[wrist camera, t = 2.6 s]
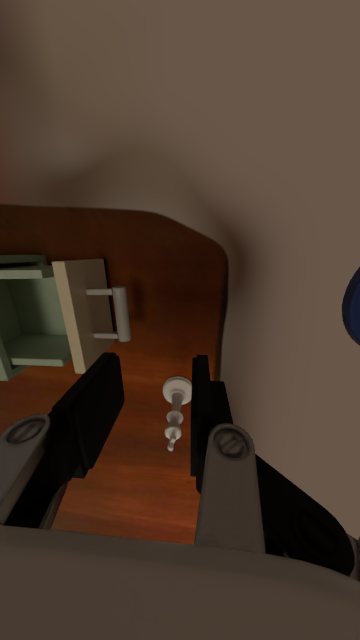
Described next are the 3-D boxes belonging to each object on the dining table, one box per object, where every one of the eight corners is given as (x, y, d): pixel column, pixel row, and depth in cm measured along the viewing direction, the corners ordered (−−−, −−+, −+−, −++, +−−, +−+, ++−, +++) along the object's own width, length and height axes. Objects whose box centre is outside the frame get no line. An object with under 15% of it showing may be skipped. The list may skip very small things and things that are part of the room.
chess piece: (198, 382, 30) (200, 441, 21) (187, 406, 32) (184, 470, 23) (168, 371, 30) (156, 426, 21) (158, 396, 32) (143, 457, 22)
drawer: (136, 258, 24) (110, 261, 17) (143, 342, 28) (124, 375, 21) (3, 260, 26) (-75, 263, 18) (26, 340, 29) (-31, 369, 22)
